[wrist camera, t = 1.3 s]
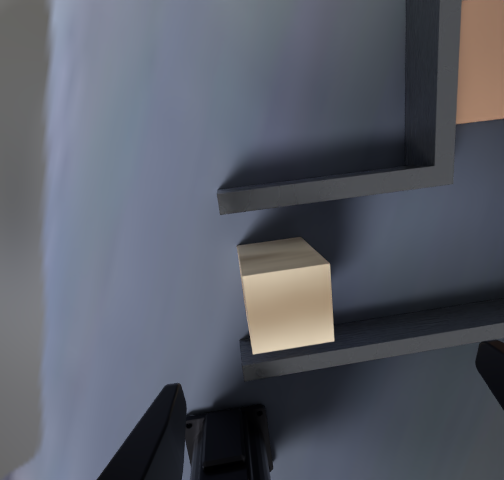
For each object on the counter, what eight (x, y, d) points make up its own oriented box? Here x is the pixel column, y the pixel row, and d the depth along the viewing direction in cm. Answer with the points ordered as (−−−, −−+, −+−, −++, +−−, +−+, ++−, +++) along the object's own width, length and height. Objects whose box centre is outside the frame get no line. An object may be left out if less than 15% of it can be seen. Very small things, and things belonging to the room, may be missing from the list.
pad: (547, 113, 21) (553, 112, 20) (436, 126, 20) (440, 125, 20) (561, -6, 19) (568, -10, 19) (440, 5, 18) (444, 2, 18)
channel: (550, 304, 25) (593, 322, 22) (241, 354, 23) (244, 381, 20) (595, -18, 19) (662, -52, 16) (192, 18, 17) (186, -11, 14)
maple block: (305, 295, 22) (334, 341, 17) (244, 304, 22) (252, 354, 16) (300, 236, 21) (329, 263, 15) (236, 245, 21) (242, 276, 15)
